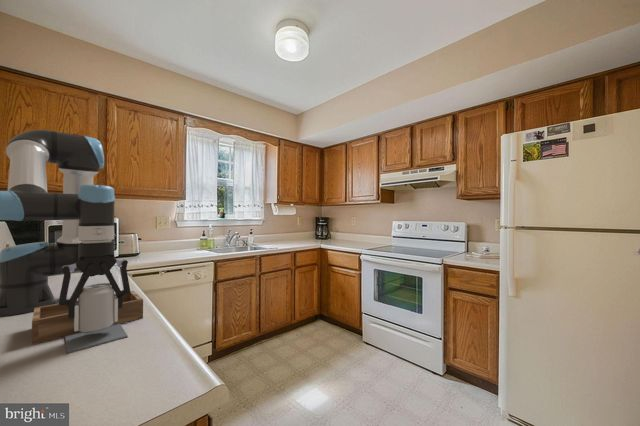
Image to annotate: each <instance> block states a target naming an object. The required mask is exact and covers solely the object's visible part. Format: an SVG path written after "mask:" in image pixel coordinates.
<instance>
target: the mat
mask: <svg viewBox="0 0 640 426" xmlns="http://www.w3.org/2000/svg"><path fill="white" fill-rule="evenodd" d="M121 324H122V323H118V324H114V325H111V326H110V327H109V328H108V329H106V330H103V331H100V332H96V333H90V334H85V333H82V332H81V333H76V334H72V335H68V336H65V337H64V339H65V349H66V355H67V354H71V353H74V352H78V351H82V350H85V349H86V350H87V349H89V348H93V347H97V346H101V345H105V344H108V343H111V342H115V341H118V340H122V339H125V338H128V337H129V336H128V333H127V332H126V331H125V329H124V328H123V326H122V325H121Z"/></svg>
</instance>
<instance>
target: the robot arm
mask: <svg viewBox="0 0 640 426" xmlns="http://www.w3.org/2000/svg"><path fill="white" fill-rule="evenodd" d="M5 154H6V156H7V157H8V159H9V170H8V171H9V172H8V183H7V190H0V221H16V222H23V221H62V230H61V231H62V233H61V236H60V237H59V238H57V239H56V244H53V245H50V244H49V242H47V241H38V242H31V243H22V244H17V245H13V246H12V245H11V246H7V247H4V248H2V249H1V250H0V317H4V316H5V317H6V316H15V315H21V314H27V313H31V312H32V313H33V312H34V308H36V307H42V306H48V305H54V304H55V296H54V294H53V291H52V289H51V287H50V285H49V277H53V276H63V278H62V282H61V287H60V292H59V298H58V304H59V305H60V306H62V305H65V306H68V317H69V319H71V318H74V331H79V305H78V303H76V301H77V300H78V297H79V295H80V293H81V291H82V289H83V287H84V286H86V284H87V282H88V280H89V277H90V278H92V277H95V276H105V277H106V278H107V280H108V283H110V284H111V287H112V288H113V289H114V294H116V296H115V297H114V322H117V321H118V309H119V308H122V299H123V296H124V295H126V294H129V293H130V291H131V285H130V281H129V275H128V270H127V266H128V263H129V261H128V260H126V259H117V258H116V257H115V242H114V241H113V240H115V201H116V196H115V189H114V187H112V186H109V185H102V184H100V185H99V184H94V177H95V176H97V174H99V173H100V170H99V169H104V168H105V156H104V155H105V154H104V149H103V145H102V143H101V141H100V140H98V139H97V138H94V137H91V136H86V135H79V134H73V133H67V132H61V131H54V130H50V129H32V130H27V131H24V132H21V133H19V134H16V135H14V136H13V137H12V138H11V139H10V140H9V141H8V142H7V144H6V147H5ZM47 164H57V170H59V171H60V173H62V175H63V189H62V190H63V191H62V193H60V192H59V193H57V192H48V180H47V168H46V167H47V166H46V165H47ZM116 264H117V267H118V268H119V272H120V278H121V283H122V288H123V289H122V290H121V289H120V287H119V285H118V283H117V281H116V280H115V277H114V276H113V273H112V272H111V269H113V267H114V266H115V265H116ZM72 274H81V276H80V278H79V280H78V282H77V285H75V287H74V290H73V291H72V294H71V296H70V298H69V299H67V297H68V292H69V287H70V282H71V281H70V280H71V275H72ZM75 303H76V304H75Z"/></svg>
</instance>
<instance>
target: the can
mask: <svg viewBox="0 0 640 426" xmlns="http://www.w3.org/2000/svg"><path fill="white" fill-rule="evenodd" d="M114 294H115V292H114V289H113V288H112V286H111V284H110V282H100V283H93V284H87V285H84V287H83V289H82V291H81V293H80V295H79V297H78V299H77V300H78V305H79V331H80V332H82V333H85V334H90V333H96V332H100V331H103V330H106V329H108V328H109V327H110V326H111V325H112V324H113V323H114Z"/></svg>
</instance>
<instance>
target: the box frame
mask: <svg viewBox="0 0 640 426" xmlns="http://www.w3.org/2000/svg"><path fill="white" fill-rule="evenodd" d="M115 296H116V293H114V297H115ZM76 303H78V299H77V301H76ZM76 303H75V304H76ZM32 314H33V315H32V320H31V345H36V344H41V343H45V342H49V341H52V340H56V339H61V338H65V336H68V335H72V334H76V333H81V332H80V331H74V318H71V319H69V317H68V306H65V305H62V306H60V305H59V303H54V304H53V305H48V306H42V307H36V308H34V311H33V312H32ZM141 319H144V298H143V297H141V296H140V295H139V294H138V293H136V292H135V291H134V290H130V293H129V294H126V295H124V296H123V299H122V308H119V309H118V321H117V322H114V323H113V324H112V325H114V324H118V323H120V324H124V323H129V322H133V321H136V320H141Z"/></svg>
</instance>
